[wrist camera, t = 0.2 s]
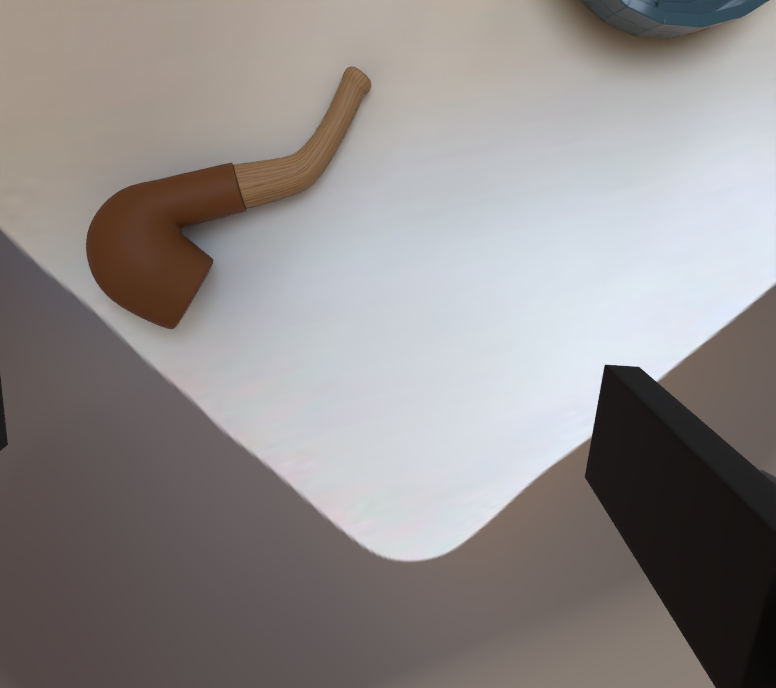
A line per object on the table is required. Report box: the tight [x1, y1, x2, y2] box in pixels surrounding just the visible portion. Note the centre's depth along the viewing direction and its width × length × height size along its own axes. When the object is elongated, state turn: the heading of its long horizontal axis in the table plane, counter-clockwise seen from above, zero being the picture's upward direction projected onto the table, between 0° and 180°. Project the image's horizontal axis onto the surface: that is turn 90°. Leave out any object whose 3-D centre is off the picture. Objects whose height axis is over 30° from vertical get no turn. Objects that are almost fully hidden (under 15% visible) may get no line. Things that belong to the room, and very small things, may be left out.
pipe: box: [86, 67, 371, 329], centre depth 37 cm, size 7×19×6 cm, turn 135°
